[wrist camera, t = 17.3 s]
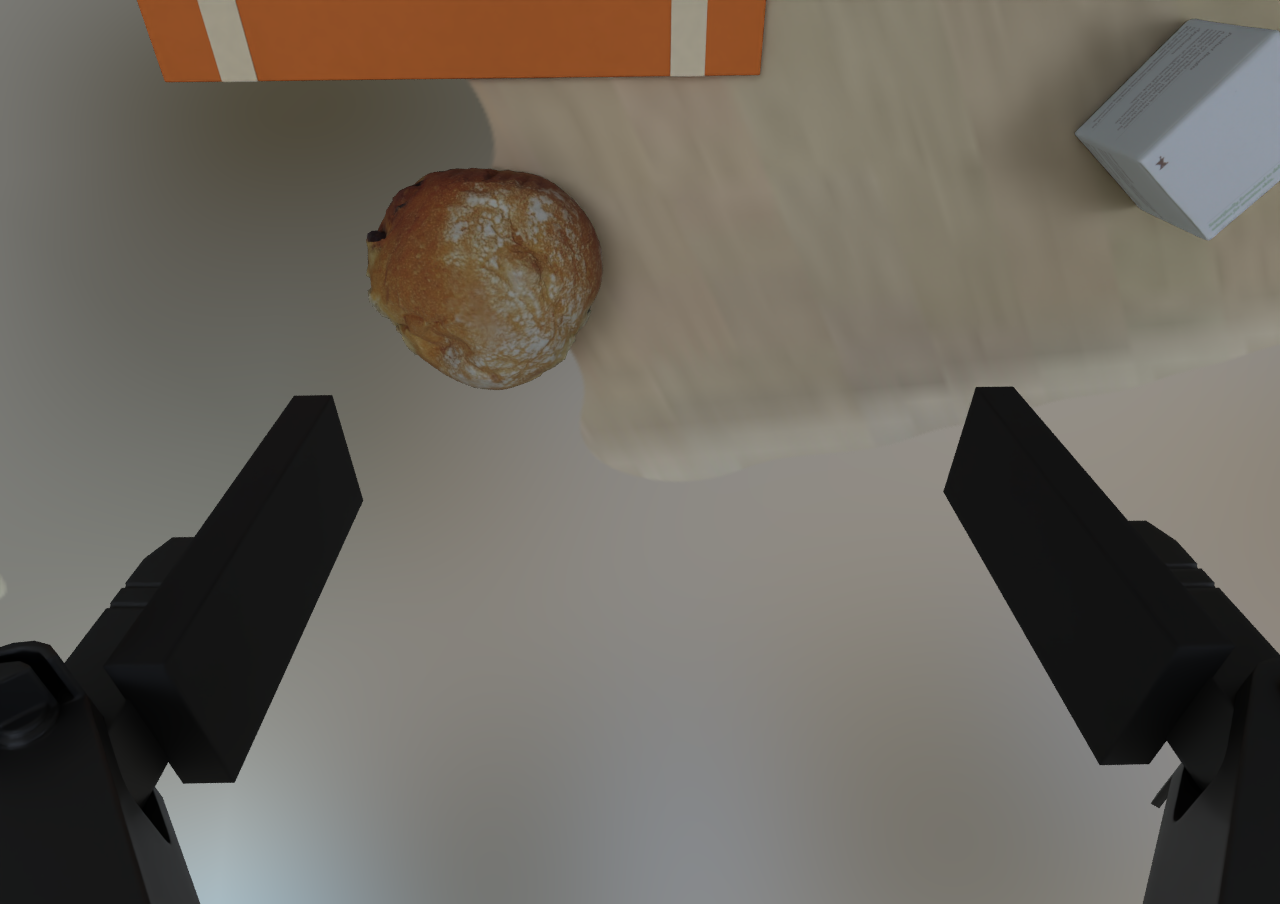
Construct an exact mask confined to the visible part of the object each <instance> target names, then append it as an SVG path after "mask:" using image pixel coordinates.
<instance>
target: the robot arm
mask: <svg viewBox="0 0 1280 904" xmlns="http://www.w3.org/2000/svg"><path fill="white" fill-rule="evenodd" d="M943 492H944V494H945V495H946V497H947V499H948V501H949V502H950V504H951V506H952V508H953V509H954V511H955V513H956V514H957V516H958V518H959V520H960V522H961V523H962V525H963V527H964V529H965V530H966V532H967V534H968V536H969V537H970V539H971V541H972V543H973V544H974V546H975V548H976V550H977V551H978V553H979V555H980V557H981V558H982V560H983V562H984V564H985V565H986V567H987V569H988V570H989V572H990V574H991V576H992V577H993V579H994V581H995V583H996V584H997V586H998V588H999V590H1000V591H1001V593H1002V595H1003V597H1004V599H1005V600H1006V602H1007V604H1008V606H1009V607H1010V609H1011V611H1012V612H1013V614H1014V616H1015V618H1016V620H1017V621H1018V623H1019V625H1020V627H1021V628H1022V630H1023V632H1024V634H1025V635H1026V637H1027V639H1028V640H1029V642H1030V644H1031V646H1032V648H1033V649H1034V651H1035V653H1036V655H1037V656H1038V658H1039V660H1040V662H1041V663H1042V665H1043V667H1044V669H1045V670H1046V672H1047V674H1048V675H1049V677H1050V679H1051V681H1052V683H1053V684H1054V686H1055V688H1056V690H1057V691H1058V693H1059V695H1060V697H1061V698H1062V700H1063V702H1064V704H1065V705H1066V707H1067V709H1068V711H1069V712H1070V714H1071V716H1072V717H1073V719H1074V721H1075V723H1076V725H1077V726H1078V728H1079V730H1080V732H1081V733H1082V735H1083V737H1084V738H1085V740H1086V742H1087V744H1088V745H1089V747H1090V749H1091V751H1092V752H1093V754H1094V756H1095V758H1096V759H1097V761H1098V763H1099V765H1125V764H1126V765H1127V764H1149V763H1150V762H1151V761H1152V760H1153V758H1154V757H1155V756H1156V754H1157V753H1158V752H1159V750H1160V749H1161V747H1162V746H1163V744H1164V743H1165V742H1166V741H1168V743H1169V744H1170V746H1171V747H1172V749H1173V750H1174V752H1175V753H1176V755H1177V756H1178V758H1179V759H1180V761H1181V762H1182V763H1181V764H1180V765H1179V766H1178V768H1177V769H1176V770H1175V772H1174V773H1173V774H1172V775H1171V777H1170V778H1169V779H1168V781H1167V782H1166V783H1165V785H1164V786H1163V787H1162V788H1161V790H1160V791H1159V792H1158V793H1157V795H1156V797H1155V798H1154V800H1153V801H1152V803H1151V804H1153V805H1154V806H1156V807H1158V808H1160V806H1161V805H1162V804H1163V803H1164V801H1165V800H1166V799H1167V801H1166V805H1165V809H1164V814H1163V818H1162V822H1161V827H1160V832H1159V835H1158V840H1157V844H1156V849H1155V853H1154V857H1153V862H1152V866H1151V871H1150V875H1149V879H1148V883H1147V888H1146V892H1145V897H1144V901H1143V904H1280V655H1279V653H1278V652H1277V651H1276V650H1275V649H1274V648H1273V647H1272V646H1271V645H1270V643H1268V641H1267V640H1266V639H1265V638H1264V637H1263V636H1262V635H1261V634H1260V632H1258V630H1257V629H1256V628H1255V627H1254V626H1253V625H1252V624H1251V623H1250V621H1249V620H1248V619H1247V618H1246V617H1245V616H1244V615H1243V614H1242V613H1241V612H1240V610H1239V609H1238V608H1237V607H1236V606H1235V605H1234V604H1233V603H1232V602H1231V601H1230V599H1229V598H1228V597H1227V596H1226V595H1225V594H1224V593H1223V592H1222V591H1221V589H1220V588H1215V586H1214V582H1213V581H1212V580H1211V578H1210V577H1209V576H1208V575H1207V574H1206V573H1205V572H1204V571H1203V570H1202V569H1198V568H1197V563H1196V562H1195V561H1194V560H1193V559H1192V558H1191V556H1189V554H1188V553H1187V552H1186V551H1185V550H1184V549H1183V548H1182V547H1181V545H1180V544H1179V543H1178V542H1177V541H1176V540H1174V539H1173V538H1171V537H1170V536H1168V535H1167V534H1165V533H1164V532H1162V531H1161V530H1159V529H1158V528H1156V527H1155V526H1153V525H1152V524H1150V523H1149V522H1147V521H1128V520H1127V519H1126V518H1125V517H1124V516H1123V514H1122V513H1121V512H1120V511H1119V510H1118V509H1117V507H1116V506H1115V505H1114V504H1113V503H1112V501H1111V500H1110V499H1109V498H1108V497H1107V496H1106V495H1105V493H1104V492H1103V491H1102V490H1101V489H1100V488H1099V486H1098V485H1097V484H1096V483H1095V482H1094V480H1093V479H1092V478H1091V477H1090V476H1089V475H1088V473H1087V472H1086V471H1085V470H1084V469H1083V468H1082V467H1081V465H1080V464H1079V463H1078V462H1077V461H1076V459H1075V458H1074V457H1073V456H1072V455H1071V454H1070V452H1069V451H1068V450H1067V449H1066V448H1065V447H1064V445H1063V444H1062V443H1061V442H1060V441H1059V440H1058V438H1057V437H1056V436H1055V435H1054V434H1053V433H1052V432H1051V430H1050V429H1049V428H1048V427H1047V426H1046V424H1044V422H1043V421H1042V420H1041V419H1040V418H1039V416H1038V415H1037V414H1036V413H1035V412H1034V410H1033V409H1032V408H1031V407H1030V406H1029V405H1028V403H1027V402H1026V401H1025V400H1024V399H1023V398H1022V396H1021V395H1020V394H1019V393H1018V392H1017V391H1016V389H1015V388H1014V387H976V389H975V392H974V395H973V398H972V402H971V405H970V408H969V411H968V414H967V418H966V421H965V424H964V427H963V430H962V434H961V437H960V440H959V443H958V447H957V450H956V453H955V456H954V459H953V463H952V466H951V469H950V472H949V475H948V479H947V482H946V485H945V488H944V491H943ZM362 502H363V498H362V495H361V491H360V488H359V484H358V482H357V478H356V474H355V471H354V467H353V465H352V461H351V457H350V454H349V451H348V447H347V444H346V440H345V437H344V433H343V430H342V427H341V423H340V420H339V417H338V413H337V410H336V406H335V403H334V400H333V396H332V395H317V396H316V395H315V396H294V397H293V398H292V400H291V401H290V402H289V404H288V405H287V407H286V408H285V410H284V411H283V412H282V414H281V415H280V417H279V418H278V420H277V421H276V422H275V424H274V425H273V427H272V428H271V429H270V431H269V432H268V434H267V435H266V436H265V438H264V439H263V441H262V442H261V443H260V445H259V446H258V448H257V449H256V451H255V452H254V453H253V455H252V456H251V458H250V459H249V461H248V462H247V463H246V465H245V466H244V468H243V469H242V470H241V472H240V473H239V475H238V476H237V477H236V479H235V480H234V482H233V483H232V484H231V486H230V487H229V489H228V490H227V492H226V493H225V494H224V496H223V497H222V499H221V500H220V501H219V503H218V504H217V506H216V507H215V509H214V510H213V512H212V513H211V514H210V516H209V517H208V519H207V520H206V521H205V523H204V524H203V526H202V527H201V529H200V530H199V531H198V533H197V534H196V535H195V537H176V538H175V537H173V538H171V539H170V540H168V541H167V542H166V543H164V544H163V545H162V546H161V547H159V548H158V549H156V550H155V551H154V552H152V553H151V554H150V555H148V556H147V557H146V558H145V559H144V560H143V561H142V562H141V563H140V565H139V566H138V567H137V569H136V570H135V571H134V573H133V574H132V575H131V577H130V578H129V579H128V580H127V582H126V587H125V588H122V589H121V590H120V591H119V592H118V594H117V595H116V596H115V598H114V599H113V600H112V602H111V603H110V604H111V606H110V608H107V609H105V611H104V612H103V613H102V615H101V616H100V617H99V619H98V620H97V621H96V622H95V624H94V625H93V626H92V628H91V629H90V631H89V632H88V633H87V634H86V636H85V637H84V638H83V639H82V641H81V642H80V644H79V645H78V646H77V647H76V649H75V650H74V652H73V653H72V654H71V655H70V657H69V658H68V659H67V661H66V662H65V663H64V662H63V661H62V660H61V659H60V657H59V656H58V654H57V653H56V652H55V650H54V649H53V648H52V647H51V646H50V645H48V644H45V643H41V642H36V641H28V642H18V643H11V644H8V645H5V646H2V647H0V904H200V902H199V899H198V896H197V894H196V890H195V888H194V885H193V882H192V879H191V876H190V874H189V871H188V868H187V865H186V862H185V859H184V857H183V854H182V851H181V848H180V846H179V843H178V840H177V837H176V834H175V831H174V828H173V826H172V823H171V820H170V817H169V814H168V811H167V809H166V806H165V803H164V800H163V797H162V796H161V795H160V793H159V792H158V791H157V789H156V788H155V785H156V784H157V782H158V780H159V778H160V776H161V774H162V772H163V771H164V769H165V767H166V765H167V763H168V762H169V764H170V765H171V766H172V768H173V769H174V771H175V772H176V774H177V775H178V777H179V778H180V779H181V781H182V782H183V784H185V783H234V782H235V781H236V778H237V776H238V774H239V772H240V770H241V767H242V765H243V763H244V761H245V758H246V756H247V754H248V752H249V750H250V747H251V745H252V743H253V741H254V739H255V736H256V734H257V732H258V730H259V728H260V726H261V723H262V721H263V719H264V717H265V715H266V713H267V710H268V708H269V706H270V704H271V702H272V699H273V697H274V695H275V693H276V691H277V688H278V686H279V684H280V682H281V680H282V677H283V675H284V673H285V671H286V669H287V666H288V664H289V662H290V660H291V658H292V655H293V653H294V651H295V649H296V646H297V644H298V642H299V640H300V638H301V636H302V634H303V631H304V629H305V627H306V625H307V622H308V620H309V618H310V616H311V614H312V612H313V609H314V607H315V605H316V603H317V601H318V598H319V596H320V594H321V592H322V590H323V587H324V585H325V583H326V581H327V579H328V576H329V574H330V572H331V570H332V568H333V565H334V563H335V561H336V559H337V557H338V555H339V552H340V550H341V548H342V545H343V544H344V541H345V539H346V537H347V535H348V532H349V530H350V528H351V526H352V523H353V522H354V519H355V517H356V515H357V513H358V511H359V508H360V506H361V504H362Z"/></svg>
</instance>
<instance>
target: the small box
mask: <svg viewBox="0 0 1280 904" xmlns="http://www.w3.org/2000/svg"><path fill="white" fill-rule="evenodd" d="M1075 135H1076V136H1077V137H1078V138H1079V140H1080V141H1081V142H1082V143H1083V144H1084V145H1085V146H1086V147H1087V148H1088V149H1089V151H1090V152H1091V153H1092V154H1093V155H1094V156H1095V158H1096V159H1097V160H1098V161H1099V162H1100V163H1101V165H1103V167H1104V168H1105V169H1106V170H1107V171H1108V172H1109V174H1110V175H1111V176H1112V177H1113V178H1114V179H1115V180H1116V181H1117V183H1118V184H1119V185H1120V186H1121V187H1122V188H1123V190H1124V191H1125V192H1126V193H1127V194H1128V195H1129V197H1130V198H1131V199H1132V200H1133V201H1134V202H1135V204H1136V205H1137V206H1138V207H1139V208H1140V209H1141V210H1143V211H1145V212H1147V213H1149V214H1151V215H1153V216H1155V217H1158V218H1160V219H1162V220H1164V221H1166V222H1168V223H1170V224H1172V225H1174V226H1176V227H1179V228H1181V229H1183V230H1185V231H1187V232H1189V233H1191V234H1193V235H1195V236H1197V237H1200V238H1202V239H1205V240H1210V239H1212V238H1213V237H1214V236H1215V235H1216V234H1218V233H1219V232H1220V231H1221V230H1222V229H1223V228H1225V227H1226V226H1227V225H1228V224H1229V223H1230V222H1232V221H1233V220H1234V219H1235V218H1236V217H1237V216H1239V215H1240V214H1241V213H1242V212H1243V211H1245V210H1246V209H1247V208H1248V207H1249V206H1250V205H1252V204H1253V203H1254V202H1255V201H1256V200H1258V199H1259V198H1260V197H1261V196H1262V195H1263V194H1265V193H1266V192H1267V191H1268V190H1269V189H1271V188H1272V187H1273V186H1274V185H1275V184H1276V183H1278V182H1279V181H1280V32H1279V31H1278V30H1271V29H1262V28H1254V27H1245V26H1238V25H1231V24H1224V23H1217V22H1211V21H1204V20H1199V19H1190V20H1188V21H1187V22H1186V23H1185V24H1184V25H1183V26H1182V27H1181V28H1180V29H1179V30H1178V31H1177V32H1176V33H1175V34H1174V35H1173V36H1172V37H1171V38H1170V39H1169V40H1167V41H1166V42H1165V43H1164V44H1163V45H1162V46H1161V47H1160V48H1159V49H1158V50H1157V51H1156V52H1155V53H1154V54H1153V55H1152V56H1151V57H1150V58H1149V59H1148V60H1147V61H1146V62H1145V63H1144V64H1143V65H1142V66H1141V67H1140V68H1139V69H1138V70H1137V71H1136V72H1135V73H1134V74H1133V75H1132V76H1131V77H1130V78H1129V79H1128V80H1127V81H1126V82H1125V83H1124V84H1123V85H1122V86H1121V87H1120V88H1119V89H1118V90H1117V91H1116V92H1115V93H1114V94H1113V95H1112V96H1111V97H1110V98H1109V99H1108V100H1107V101H1106V102H1105V103H1104V104H1103V105H1102V106H1101V107H1100V108H1099V109H1098V110H1097V111H1096V112H1095V113H1094V114H1093V115H1092V116H1091V117H1090V118H1089V119H1088V120H1087V121H1086V122H1085V123H1084V124H1083V125H1082V126H1081V127H1080V128H1079V129H1078V130H1077V131H1076V132H1075Z"/></svg>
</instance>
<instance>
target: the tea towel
mask: <svg viewBox="0 0 1280 904" xmlns="http://www.w3.org/2000/svg"><path fill="white" fill-rule="evenodd" d="M137 2H138V5H139V8H140V11H141V13H142V16H143V19H144V22H145V25H146V28H147V31H148V33H149V37H150V40H151V43H152V45H153V48H154V51H155V54H156V57H157V60H158V63H159V66H160V69H161V72H162V74H163V77H164V80H165V82H220V81H221V82H257V81H300V80H301V81H305V80H387V79H471V78H553V77H634V76H670V77H673V76H716V75H759V74H760V67H761V55H762V42H763V30H764V17H765V5H766V0H137Z"/></svg>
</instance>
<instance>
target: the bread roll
mask: <svg viewBox="0 0 1280 904" xmlns="http://www.w3.org/2000/svg"><path fill="white" fill-rule="evenodd" d="M366 242H367V246H368V269H367V274H366V276H367V277H370V279H371V288H370V290H369V291H368V296H369V302H371V304H372V306H373V308H374V309H376V310H377V311H378V312H379V313H380V314H381V315H382V316H383V317H386V318H388V319H390V320H391V322H392V323H393V325H395V326H396V330H397V331H398V332H399V333H400V334H401V335H402V339H403V341H404V342H405V344H406V346H407V347H408V348H409V350H411V351H412V352H413V353H414V354H416V355H419V356H420V357H421V358H422V359H423V360H425V361H426V362H428V363H429V364H430V365H432V366H433V367H435V368H436V369H438V370H439V371H441V372H442V373H443V374H445V375H447V376H449V377H451V378H453V379H455V380H456V381H459V382H461V383H464V384H466V385H469V386H471V387H474V388H480V389H490V390H491V389H492V390H503V389H508V388H512V387H515V386H518V385H521V384H524V383H526V382H529V381H531V380H533V379H535V378H537V377H539V376H541V374H542V373H543V372H545V371H547V370H549V369H551V368H553V367H555V366H556V365H558V364H559V363H560V362H562V361H563V360H565V358H566V355H567V352H568V351H569V349H570V347H571V345H572V344H573V343H574V342H575V341H576V340H575V335H576V334H577V331H579V330H580V329H581V328H582V327H583V326H584V325H585V323H586V322H587V320H588V318H589V315H590V313H591V310H590V308H591V305H592V303H593V301H594V300H595V298H596V296H597V293H598V291H599V289H600V285H601V281H602V272H603V263H602V251H601V246H600V243H599V240H598V238H597V235H596V233H595V230H594V227H593V226H592V224H591V222H590V220H589V219H588V217H587V216H586V214H585V213H584V211H583V210H582V209H581V208H580V207H579V206H578V204H577V203H576V202H575V201H574V200H573V199H572V198H571V197H570V196H569V195H567V194H566V193H565V192H564V191H563V190H561V189H560V188H559V187H558V186H556V185H555V184H554V183H552V182H550V181H548V180H546V179H544V178H542V177H540V176H536V175H533V174H529V173H524V172H514V171H510V170H505V171H497V170H492V169H477V168H470V169H450V170H447V171H439V172H433V173H429V174H427V175H425V176H424V177H422V178H421V179H420V180H419V181H417V182H416V183H415V184H414V185H412V186H409V187H406V188H404V189H402V190H400V191H399V192H398V193H397V195H396V196H394V197H393V201H392V203H391V204H390V206H389V207H388V209H387V210H386V215H385V217H384V219H383V221H382V222H381V225H380V227H379V229H378V231H371V232H370V233H368V235H367V240H366Z"/></svg>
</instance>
